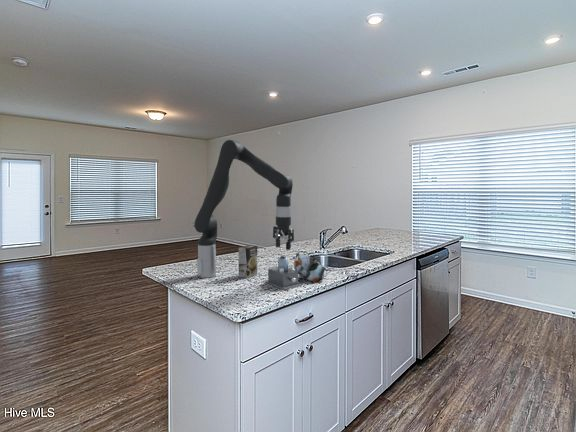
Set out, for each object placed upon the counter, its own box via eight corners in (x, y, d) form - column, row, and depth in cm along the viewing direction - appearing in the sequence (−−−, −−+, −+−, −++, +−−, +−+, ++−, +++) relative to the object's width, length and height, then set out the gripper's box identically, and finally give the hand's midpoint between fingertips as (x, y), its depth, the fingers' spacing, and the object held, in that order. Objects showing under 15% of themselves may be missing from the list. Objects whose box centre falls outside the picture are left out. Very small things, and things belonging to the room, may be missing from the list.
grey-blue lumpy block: (322, 283, 162) (308, 257, 158) (299, 291, 167) (285, 266, 164) (328, 266, 177) (315, 242, 173) (306, 273, 182) (293, 250, 179)
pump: (290, 270, 160) (290, 256, 160) (282, 272, 157) (282, 257, 157) (284, 268, 164) (284, 254, 164) (276, 270, 161) (276, 256, 161)
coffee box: (247, 278, 172) (247, 248, 170) (238, 276, 175) (237, 247, 174) (258, 274, 179) (257, 245, 178) (248, 272, 183) (248, 244, 181)
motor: (285, 290, 151) (285, 271, 150) (265, 282, 164) (265, 264, 163) (303, 286, 157) (303, 268, 156) (283, 278, 171) (283, 261, 170)
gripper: (298, 216, 155) (297, 249, 157) (281, 214, 166) (280, 245, 168) (285, 217, 151) (285, 251, 152) (268, 214, 162) (268, 246, 163)
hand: (282, 248), depth 160 cm, fingers open, 8 cm apart
